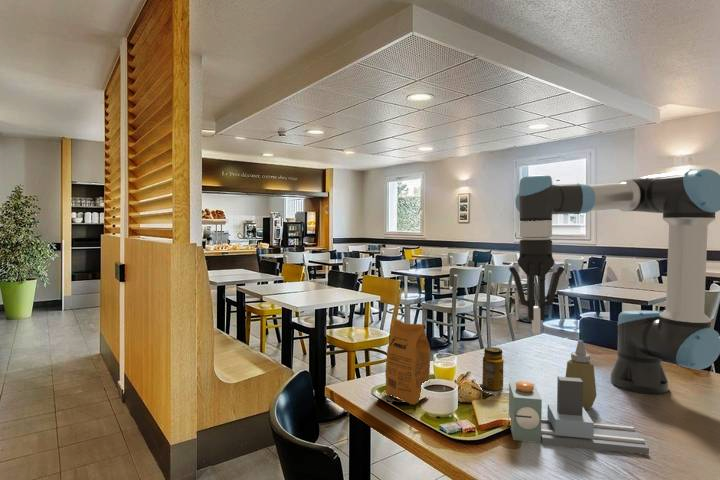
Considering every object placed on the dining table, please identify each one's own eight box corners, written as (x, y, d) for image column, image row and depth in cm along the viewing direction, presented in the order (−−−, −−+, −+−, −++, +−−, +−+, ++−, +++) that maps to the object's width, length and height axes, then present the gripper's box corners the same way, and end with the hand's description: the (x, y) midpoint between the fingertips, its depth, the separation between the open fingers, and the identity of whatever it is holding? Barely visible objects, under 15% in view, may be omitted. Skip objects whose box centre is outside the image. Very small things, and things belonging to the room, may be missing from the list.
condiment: (509, 389, 133) (509, 350, 132) (490, 395, 128) (491, 354, 128) (490, 382, 139) (490, 344, 138) (471, 387, 134) (471, 348, 134)
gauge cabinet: (533, 423, 110) (534, 383, 110) (541, 443, 100) (542, 400, 99) (508, 420, 111) (509, 382, 111) (513, 441, 101) (514, 398, 101)
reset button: (532, 395, 107) (532, 382, 107) (534, 402, 103) (534, 388, 103) (514, 394, 108) (514, 380, 108) (516, 400, 104) (517, 386, 104)
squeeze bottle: (595, 414, 115) (596, 346, 114) (561, 407, 119) (562, 342, 119) (597, 403, 122) (598, 339, 121) (565, 397, 126) (566, 335, 126)
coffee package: (402, 386, 135) (403, 315, 134) (434, 398, 126) (435, 322, 125) (379, 394, 128) (379, 320, 128) (411, 408, 119) (411, 327, 118)
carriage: (582, 420, 107) (583, 373, 107) (593, 438, 98) (594, 387, 98) (547, 417, 109) (548, 371, 109) (555, 435, 100) (556, 384, 100)
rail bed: (629, 431, 106) (629, 422, 106) (648, 454, 95) (649, 445, 95) (534, 422, 111) (534, 414, 110) (542, 443, 100) (542, 434, 100)
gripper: (560, 237, 111) (560, 329, 112) (506, 238, 114) (507, 328, 115) (567, 238, 104) (568, 337, 105) (510, 239, 106) (510, 336, 108)
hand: (536, 332), depth 110 cm, fingers closed
